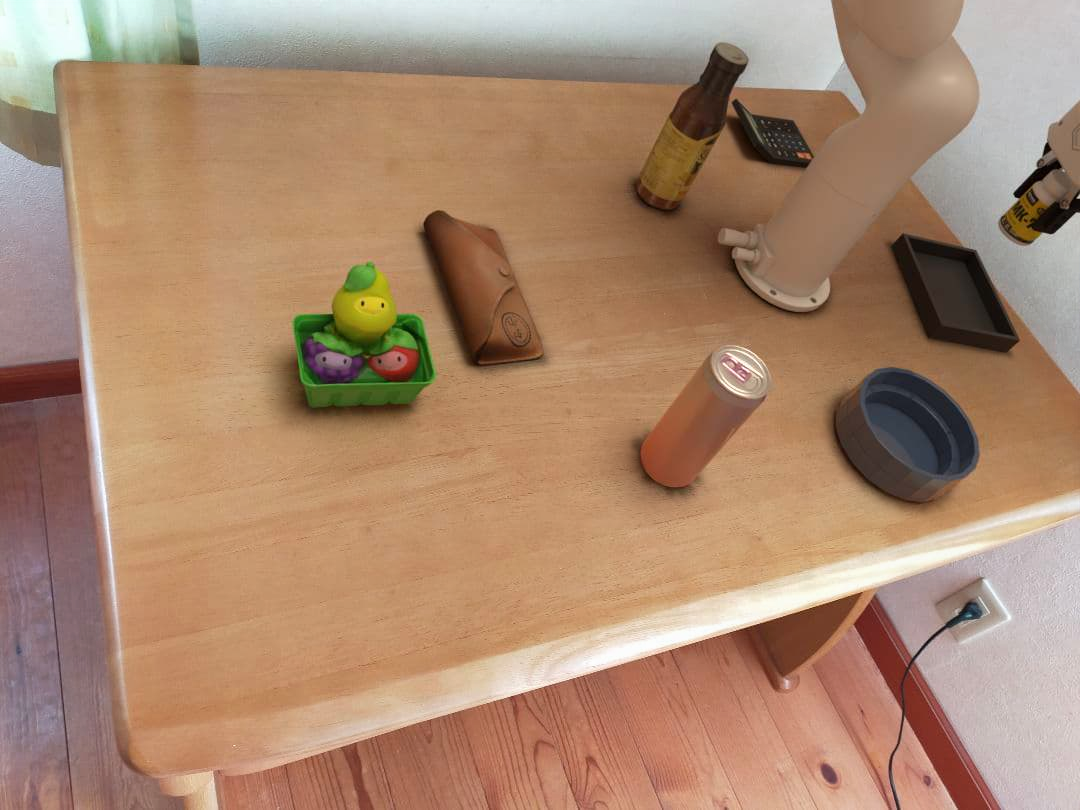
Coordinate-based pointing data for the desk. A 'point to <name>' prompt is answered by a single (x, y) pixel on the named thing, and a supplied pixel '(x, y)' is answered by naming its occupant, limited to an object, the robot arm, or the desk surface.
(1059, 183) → the supplement bottle
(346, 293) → the fruit basket
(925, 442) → the bowl
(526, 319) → the sunglasses case
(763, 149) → the calculator
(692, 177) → the sauce bottle
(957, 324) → the tray
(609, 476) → the desk surface
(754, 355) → the beverage can
